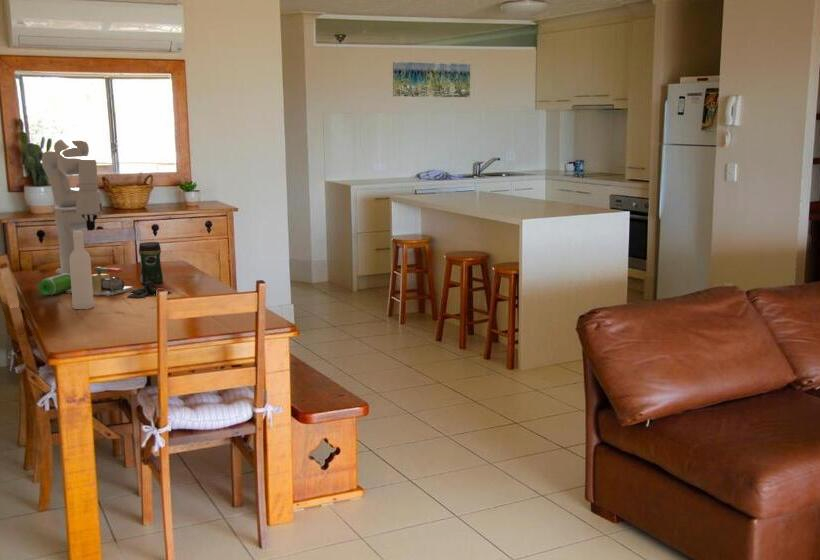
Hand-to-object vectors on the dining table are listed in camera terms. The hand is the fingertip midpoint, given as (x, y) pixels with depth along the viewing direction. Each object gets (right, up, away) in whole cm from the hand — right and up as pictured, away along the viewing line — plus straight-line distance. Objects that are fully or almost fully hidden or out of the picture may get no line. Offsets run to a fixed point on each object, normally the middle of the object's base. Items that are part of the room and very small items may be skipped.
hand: (91, 229), depth 380 cm
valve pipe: (+5, -26, -3) cm, 27 cm away
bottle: (+10, -33, -37) cm, 50 cm away
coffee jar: (+21, -23, +17) cm, 36 cm away
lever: (+10, -20, -6) cm, 23 cm away
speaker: (-13, -27, -4) cm, 30 cm away
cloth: (+29, -28, -9) cm, 42 cm away
